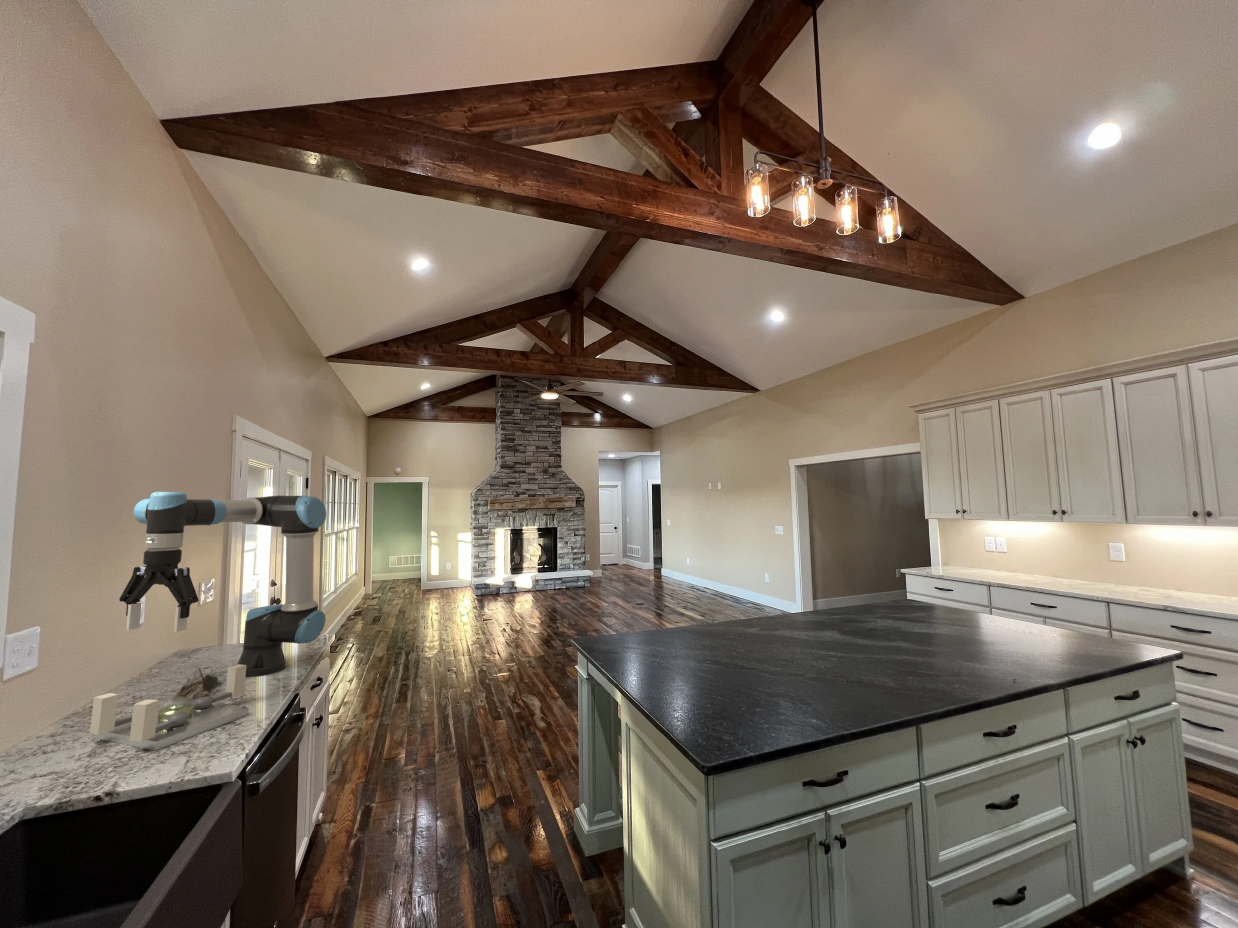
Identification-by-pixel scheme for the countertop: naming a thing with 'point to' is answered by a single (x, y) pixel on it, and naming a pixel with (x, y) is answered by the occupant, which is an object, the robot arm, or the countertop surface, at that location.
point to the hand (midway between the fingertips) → (156, 629)
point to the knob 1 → (106, 714)
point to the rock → (196, 686)
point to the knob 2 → (151, 720)
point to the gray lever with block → (232, 687)
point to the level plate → (195, 725)
